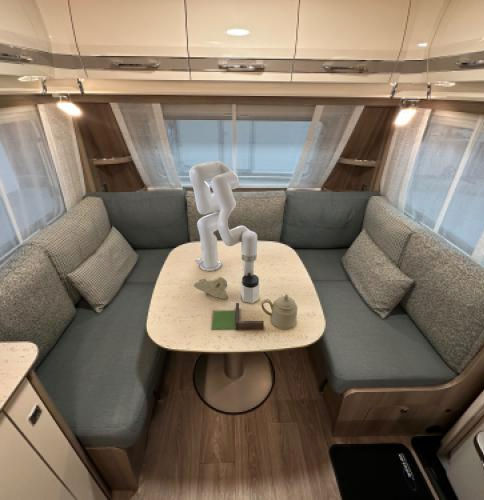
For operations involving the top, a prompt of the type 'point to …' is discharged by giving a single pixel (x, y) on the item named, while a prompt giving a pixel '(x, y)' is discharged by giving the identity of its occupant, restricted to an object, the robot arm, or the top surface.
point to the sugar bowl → (282, 312)
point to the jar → (250, 288)
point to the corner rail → (247, 323)
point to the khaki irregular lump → (213, 287)
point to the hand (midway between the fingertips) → (248, 285)
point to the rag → (223, 320)
